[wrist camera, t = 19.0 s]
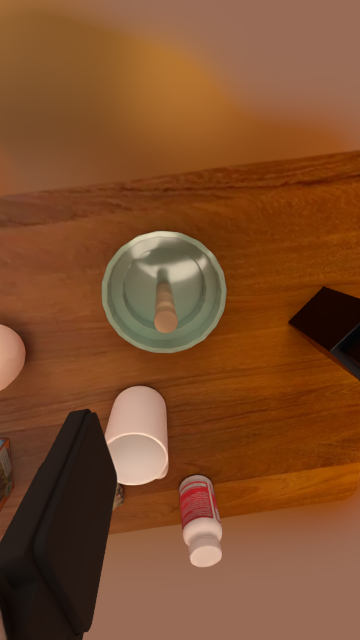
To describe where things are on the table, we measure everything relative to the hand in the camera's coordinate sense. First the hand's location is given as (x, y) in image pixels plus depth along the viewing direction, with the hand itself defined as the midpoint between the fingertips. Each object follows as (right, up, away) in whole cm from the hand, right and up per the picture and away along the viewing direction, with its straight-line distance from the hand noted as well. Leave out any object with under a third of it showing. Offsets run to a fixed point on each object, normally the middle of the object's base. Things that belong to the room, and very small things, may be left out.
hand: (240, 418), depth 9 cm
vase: (+19, +3, +30) cm, 36 cm away
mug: (-7, -12, +33) cm, 36 cm away
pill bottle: (+1, -27, +39) cm, 48 cm away
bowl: (-4, +8, +27) cm, 28 cm away
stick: (-4, +8, +26) cm, 28 cm away
